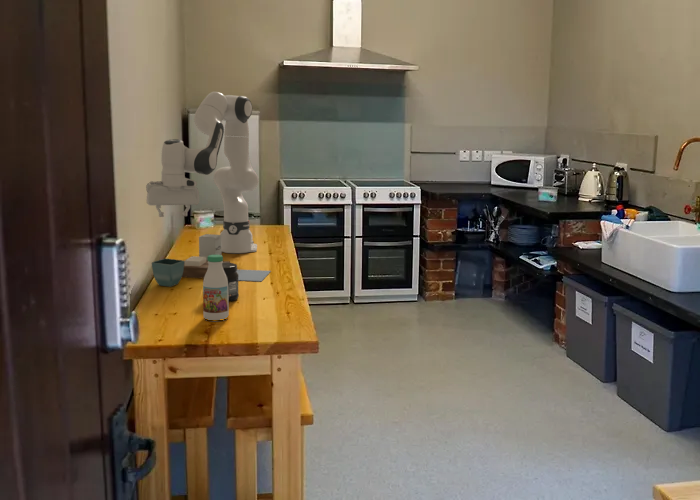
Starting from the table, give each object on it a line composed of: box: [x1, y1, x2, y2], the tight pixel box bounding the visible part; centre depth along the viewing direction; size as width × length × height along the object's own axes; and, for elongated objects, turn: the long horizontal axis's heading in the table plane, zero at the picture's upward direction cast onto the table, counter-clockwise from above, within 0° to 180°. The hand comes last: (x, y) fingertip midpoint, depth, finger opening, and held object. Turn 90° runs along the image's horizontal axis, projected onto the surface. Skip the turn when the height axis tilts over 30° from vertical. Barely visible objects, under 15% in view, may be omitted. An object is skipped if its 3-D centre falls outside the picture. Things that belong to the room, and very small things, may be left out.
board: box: [181, 260, 231, 279], centre depth 272 cm, size 14×18×4 cm
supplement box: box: [198, 233, 222, 260], centre depth 288 cm, size 7×7×13 cm
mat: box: [236, 268, 272, 283], centre depth 271 cm, size 18×15×1 cm
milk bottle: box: [202, 254, 230, 320], centre depth 211 cm, size 8×8×20 cm
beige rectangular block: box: [184, 255, 206, 266], centre depth 272 cm, size 9×6×2 cm, turn 175°
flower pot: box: [151, 258, 185, 287], centre depth 253 cm, size 9×9×9 cm
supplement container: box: [222, 262, 239, 302], centre depth 235 cm, size 10×10×12 cm
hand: (173, 216), depth 270 cm, fingers open, 8 cm apart
